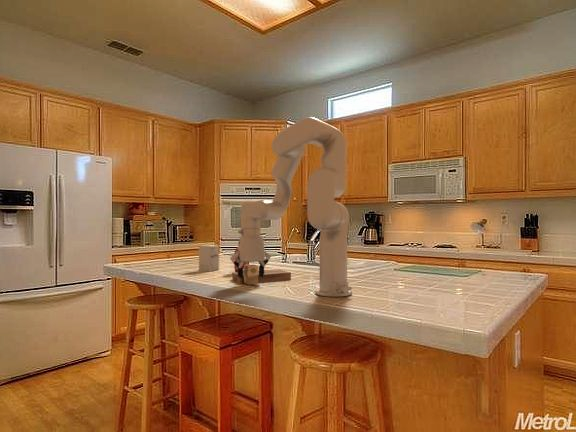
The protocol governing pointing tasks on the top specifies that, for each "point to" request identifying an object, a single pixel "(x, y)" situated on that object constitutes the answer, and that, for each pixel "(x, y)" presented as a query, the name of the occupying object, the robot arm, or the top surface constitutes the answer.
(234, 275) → the walnut plank
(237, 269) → the soda can
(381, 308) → the top surface
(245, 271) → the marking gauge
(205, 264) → the supplement box
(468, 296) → the top surface
